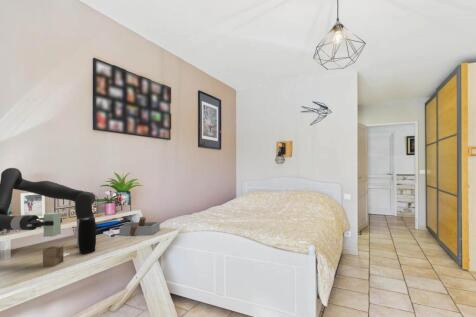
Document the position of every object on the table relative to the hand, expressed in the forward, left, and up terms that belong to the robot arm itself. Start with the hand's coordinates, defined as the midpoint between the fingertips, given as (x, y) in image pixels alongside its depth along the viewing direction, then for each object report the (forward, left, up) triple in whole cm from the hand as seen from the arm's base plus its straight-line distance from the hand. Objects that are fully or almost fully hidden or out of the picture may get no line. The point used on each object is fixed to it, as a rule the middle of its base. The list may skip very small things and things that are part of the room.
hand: (57, 222), depth 129 cm
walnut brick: (0, -2, -21) cm, 21 cm away
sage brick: (0, -3, -6) cm, 7 cm away
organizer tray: (-60, +17, -21) cm, 66 cm away
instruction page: (-11, -9, -21) cm, 25 cm away
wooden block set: (-60, +17, -21) cm, 66 cm away
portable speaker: (-18, +4, -21) cm, 28 cm away
